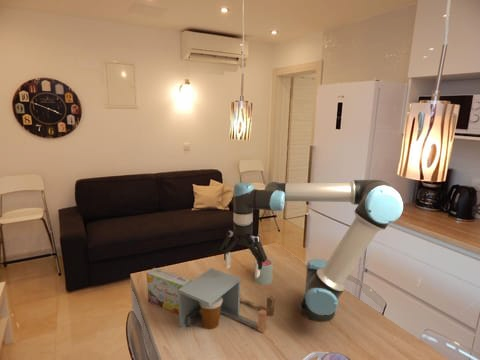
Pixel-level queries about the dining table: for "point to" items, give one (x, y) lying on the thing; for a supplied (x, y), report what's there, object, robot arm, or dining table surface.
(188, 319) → the wood-tipped metal rod
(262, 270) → the mug
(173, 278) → the snack box
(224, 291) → the shelf cubby
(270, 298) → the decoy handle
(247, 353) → the dining table surface
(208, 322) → the disposable coffee cup
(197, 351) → the dining table surface
